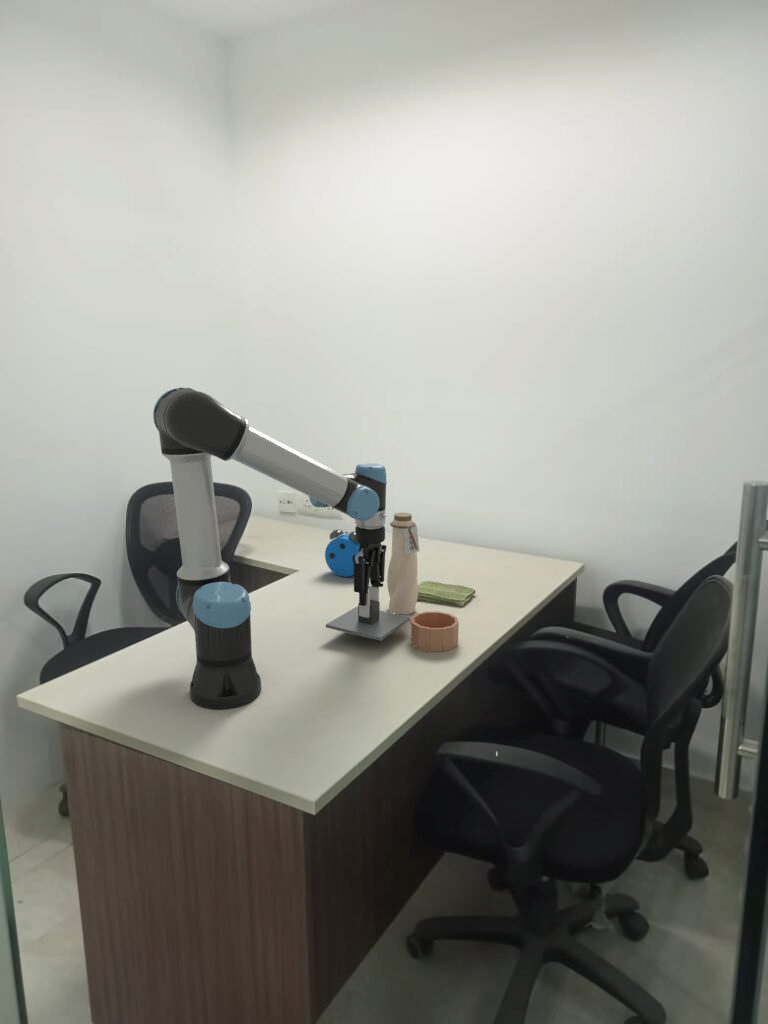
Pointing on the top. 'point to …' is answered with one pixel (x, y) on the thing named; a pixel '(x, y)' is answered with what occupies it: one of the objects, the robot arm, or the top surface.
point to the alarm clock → (341, 553)
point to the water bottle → (403, 565)
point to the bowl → (434, 631)
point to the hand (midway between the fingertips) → (368, 613)
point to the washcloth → (444, 593)
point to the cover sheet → (367, 629)
